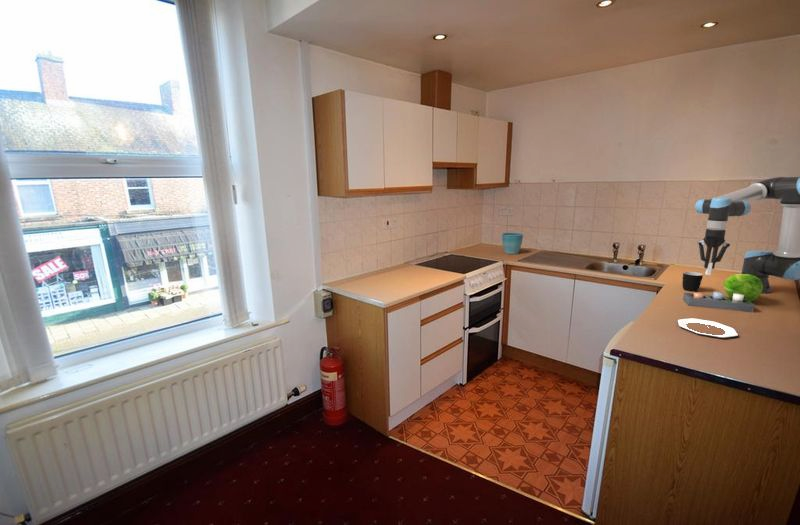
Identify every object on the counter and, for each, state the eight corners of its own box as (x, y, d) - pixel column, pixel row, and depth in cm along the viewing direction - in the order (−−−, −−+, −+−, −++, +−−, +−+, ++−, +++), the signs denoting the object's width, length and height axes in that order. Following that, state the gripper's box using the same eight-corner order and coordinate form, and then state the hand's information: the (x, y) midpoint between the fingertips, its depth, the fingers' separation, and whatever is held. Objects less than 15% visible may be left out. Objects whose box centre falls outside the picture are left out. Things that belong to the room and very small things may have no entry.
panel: (744, 305, 189) (745, 298, 188) (753, 312, 180) (754, 304, 179) (682, 299, 199) (683, 292, 198) (688, 305, 190) (689, 298, 189)
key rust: (701, 300, 193) (702, 292, 192) (703, 302, 190) (705, 295, 189) (691, 299, 195) (693, 292, 194) (694, 301, 191) (695, 294, 190)
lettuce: (713, 290, 212) (748, 297, 205) (725, 301, 192) (764, 310, 185) (723, 266, 207) (758, 272, 201) (735, 275, 188) (776, 283, 181)
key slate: (720, 299, 190) (722, 292, 189) (723, 301, 186) (725, 294, 185) (711, 298, 192) (712, 291, 191) (713, 300, 188) (715, 293, 187)
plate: (741, 343, 148) (741, 340, 147) (680, 333, 158) (680, 330, 157) (730, 327, 164) (731, 323, 164) (675, 318, 174) (676, 315, 174)
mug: (701, 293, 210) (704, 276, 208) (682, 291, 214) (685, 274, 212) (696, 287, 220) (699, 271, 218) (678, 285, 224) (681, 269, 222)
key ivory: (740, 301, 187) (742, 293, 186) (743, 303, 183) (745, 296, 182) (730, 300, 188) (731, 292, 187) (733, 302, 185) (735, 295, 184)
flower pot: (501, 254, 318) (502, 235, 315) (499, 250, 336) (500, 232, 332) (523, 255, 316) (524, 235, 312) (520, 251, 333) (521, 232, 329)
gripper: (729, 228, 184) (721, 274, 189) (697, 227, 189) (690, 271, 194) (735, 230, 177) (726, 277, 182) (702, 229, 182) (694, 275, 188)
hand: (707, 274), depth 188 cm, fingers closed
